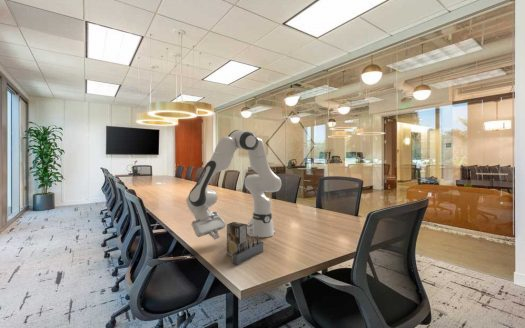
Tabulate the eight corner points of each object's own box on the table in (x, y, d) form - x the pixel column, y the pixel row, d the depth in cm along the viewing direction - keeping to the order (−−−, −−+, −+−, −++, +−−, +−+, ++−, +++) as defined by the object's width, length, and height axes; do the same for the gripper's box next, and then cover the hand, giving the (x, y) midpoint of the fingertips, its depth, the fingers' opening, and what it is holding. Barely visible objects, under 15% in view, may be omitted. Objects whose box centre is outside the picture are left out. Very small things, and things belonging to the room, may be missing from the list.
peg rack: (231, 263, 122) (231, 245, 122) (258, 250, 141) (258, 233, 140) (237, 265, 120) (237, 246, 120) (263, 251, 139) (263, 234, 138)
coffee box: (247, 254, 134) (247, 224, 133) (240, 258, 128) (240, 226, 128) (234, 251, 139) (234, 221, 138) (226, 255, 133) (226, 224, 133)
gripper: (192, 218, 138) (206, 240, 133) (219, 211, 155) (232, 230, 150) (187, 225, 140) (200, 246, 135) (214, 218, 157) (226, 236, 152)
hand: (217, 238), depth 143 cm, fingers closed
